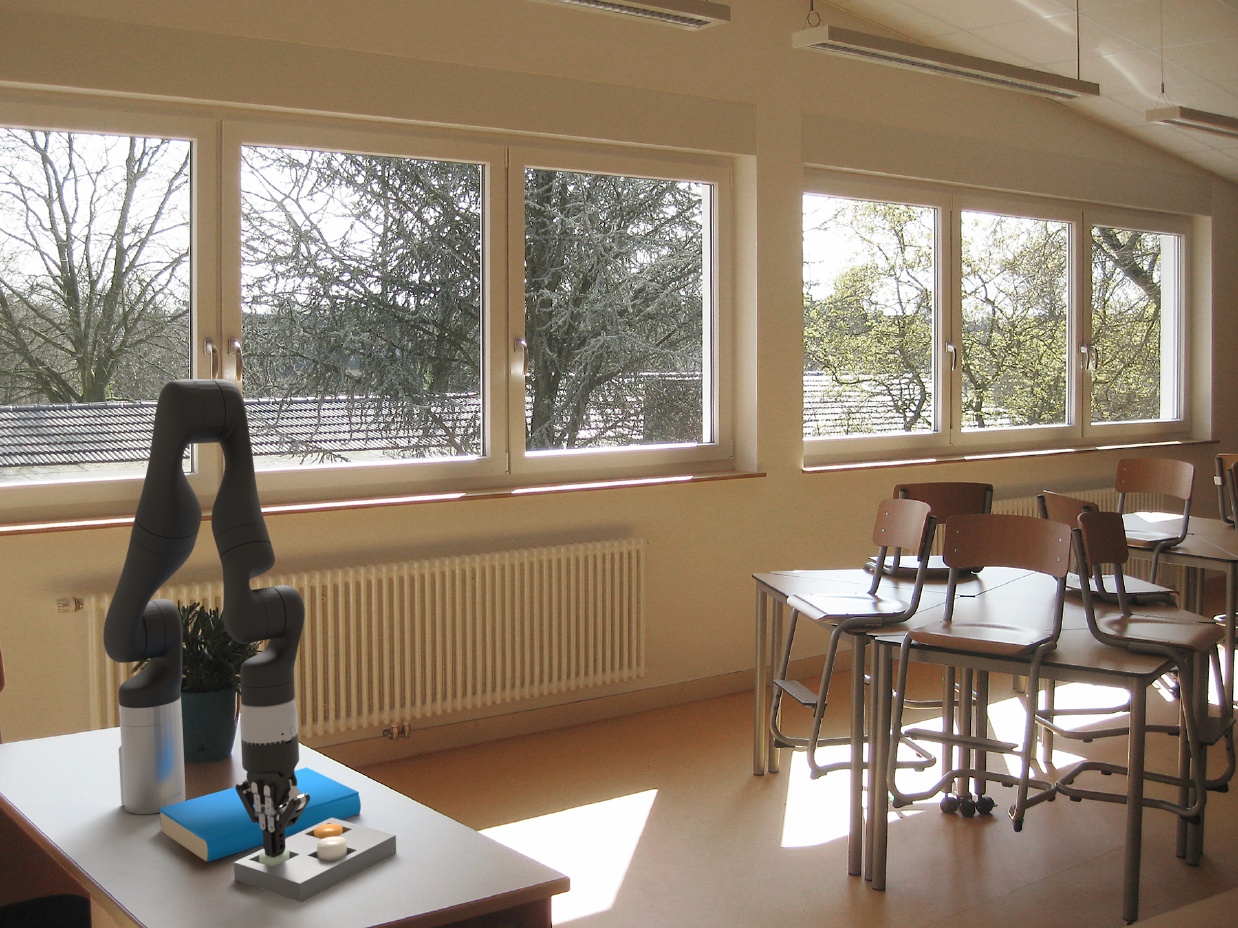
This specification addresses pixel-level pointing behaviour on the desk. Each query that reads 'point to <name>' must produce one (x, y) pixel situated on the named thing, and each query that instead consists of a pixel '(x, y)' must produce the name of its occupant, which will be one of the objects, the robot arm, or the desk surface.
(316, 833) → the button orange
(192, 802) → the book
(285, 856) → the button sage
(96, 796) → the desk surface
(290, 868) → the panel
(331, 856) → the button ivory
